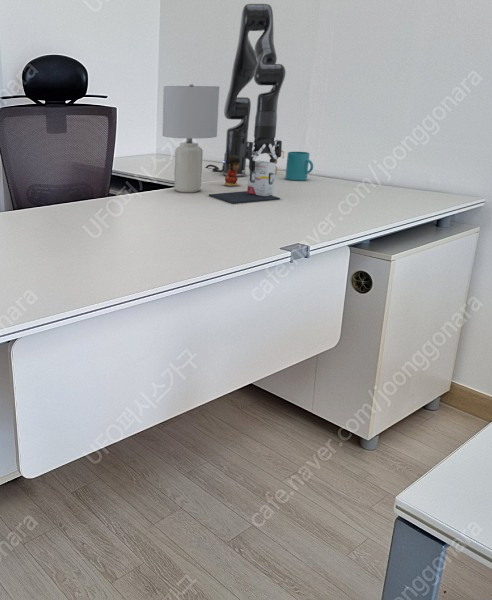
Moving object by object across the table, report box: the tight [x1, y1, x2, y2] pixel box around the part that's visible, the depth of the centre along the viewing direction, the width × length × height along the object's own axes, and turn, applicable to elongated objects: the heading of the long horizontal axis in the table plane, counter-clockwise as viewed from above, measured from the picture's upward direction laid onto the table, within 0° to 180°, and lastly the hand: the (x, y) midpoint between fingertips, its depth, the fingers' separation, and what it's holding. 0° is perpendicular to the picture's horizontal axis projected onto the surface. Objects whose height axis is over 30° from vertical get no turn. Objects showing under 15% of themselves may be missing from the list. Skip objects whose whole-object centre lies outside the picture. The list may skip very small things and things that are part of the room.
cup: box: [284, 151, 314, 182], centre depth 253 cm, size 9×12×11 cm
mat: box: [208, 190, 281, 205], centre depth 217 cm, size 16×20×1 cm
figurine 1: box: [224, 155, 241, 187], centre depth 239 cm, size 6×6×12 cm
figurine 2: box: [268, 149, 285, 174], centre depth 270 cm, size 8×6×12 cm
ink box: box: [246, 160, 277, 196], centre depth 217 cm, size 9×5×12 cm, turn 39°
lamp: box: [162, 83, 220, 193], centre depth 223 cm, size 20×20×39 cm
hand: (261, 170), depth 216 cm, fingers open, 8 cm apart
